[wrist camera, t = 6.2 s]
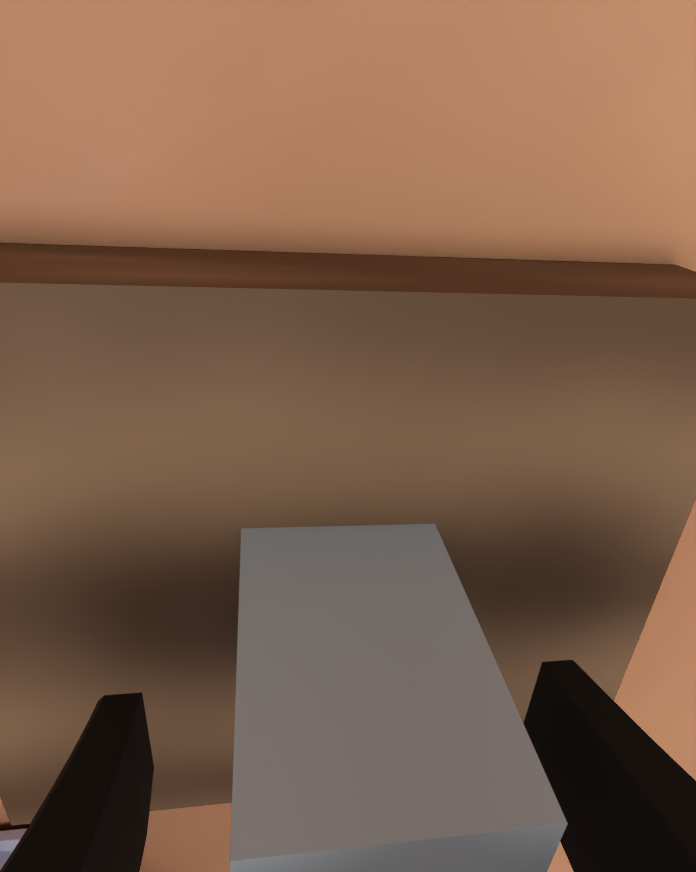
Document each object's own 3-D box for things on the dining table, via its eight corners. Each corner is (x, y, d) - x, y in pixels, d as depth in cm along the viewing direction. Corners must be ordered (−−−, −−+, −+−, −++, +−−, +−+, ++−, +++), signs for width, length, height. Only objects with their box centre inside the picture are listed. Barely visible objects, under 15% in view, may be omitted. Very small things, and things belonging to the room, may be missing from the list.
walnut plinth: (544, 680, 20) (587, 764, 17) (47, 721, 18) (11, 825, 15) (675, 264, 14) (776, 300, 11) (-89, 240, 11) (-194, 277, 9)
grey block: (410, 657, 14) (501, 972, 9) (242, 667, 14) (235, 1013, 8) (434, 523, 12) (567, 823, 7) (241, 528, 12) (229, 861, 6)
